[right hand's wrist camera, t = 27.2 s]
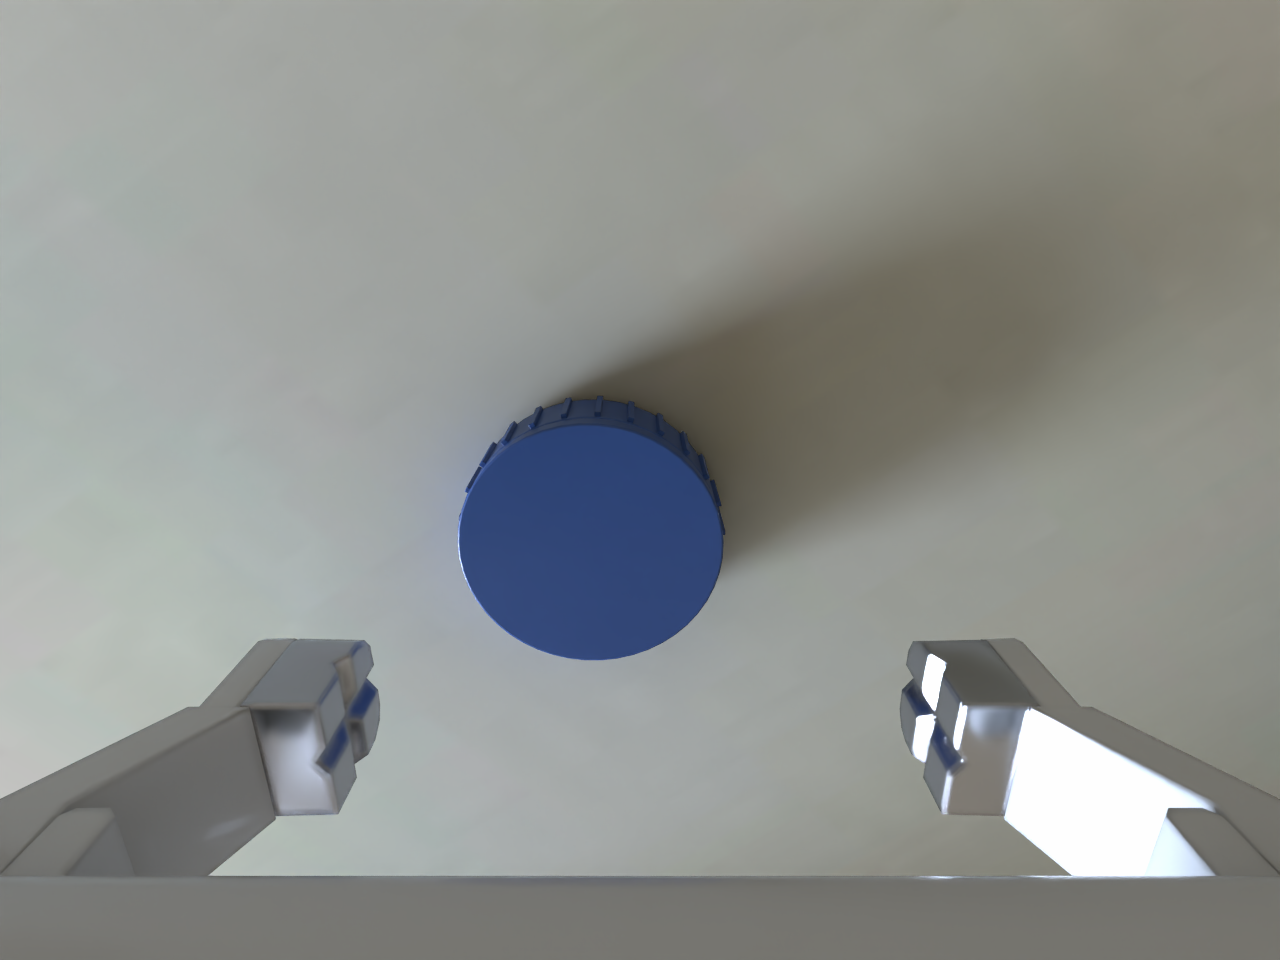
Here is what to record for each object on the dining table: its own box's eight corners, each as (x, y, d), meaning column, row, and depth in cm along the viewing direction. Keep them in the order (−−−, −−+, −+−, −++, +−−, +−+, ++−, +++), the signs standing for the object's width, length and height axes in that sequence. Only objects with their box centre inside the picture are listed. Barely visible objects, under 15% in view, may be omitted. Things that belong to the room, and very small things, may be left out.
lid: (453, 402, 13) (431, 428, 12) (716, 387, 13) (726, 411, 12) (489, 624, 15) (474, 670, 14) (719, 611, 15) (729, 657, 14)
